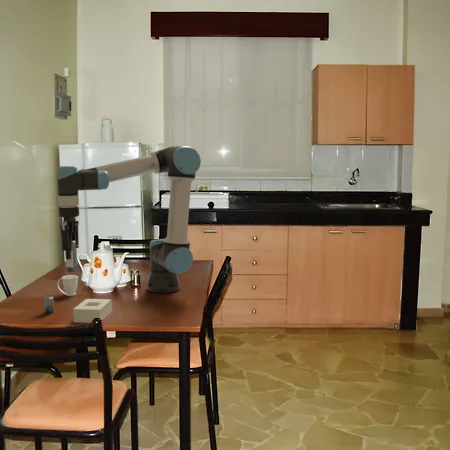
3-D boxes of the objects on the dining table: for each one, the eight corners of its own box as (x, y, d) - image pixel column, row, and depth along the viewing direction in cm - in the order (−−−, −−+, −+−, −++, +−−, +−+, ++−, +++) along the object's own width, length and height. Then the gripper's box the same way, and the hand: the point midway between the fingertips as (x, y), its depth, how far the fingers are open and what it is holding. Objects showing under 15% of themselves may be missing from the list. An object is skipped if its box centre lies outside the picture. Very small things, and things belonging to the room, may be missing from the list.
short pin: (55, 311, 212) (54, 296, 211) (51, 314, 208) (51, 298, 208) (46, 311, 212) (46, 296, 212) (42, 313, 209) (42, 298, 208)
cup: (73, 297, 233) (72, 279, 232) (53, 295, 235) (52, 277, 234) (82, 293, 239) (81, 275, 238) (62, 291, 242) (61, 274, 241)
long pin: (77, 270, 213) (76, 240, 212) (74, 272, 210) (73, 241, 208) (69, 269, 214) (67, 240, 212) (65, 272, 210) (64, 241, 208)
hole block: (111, 311, 211) (111, 299, 211) (100, 322, 197) (99, 309, 197) (86, 311, 212) (86, 298, 211) (73, 322, 198) (73, 309, 198)
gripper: (67, 204, 217) (70, 261, 220) (50, 208, 200) (53, 270, 204) (85, 204, 216) (88, 261, 219) (70, 208, 200) (73, 270, 203)
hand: (71, 265), depth 211 cm, fingers closed on long pin, 3 cm apart
